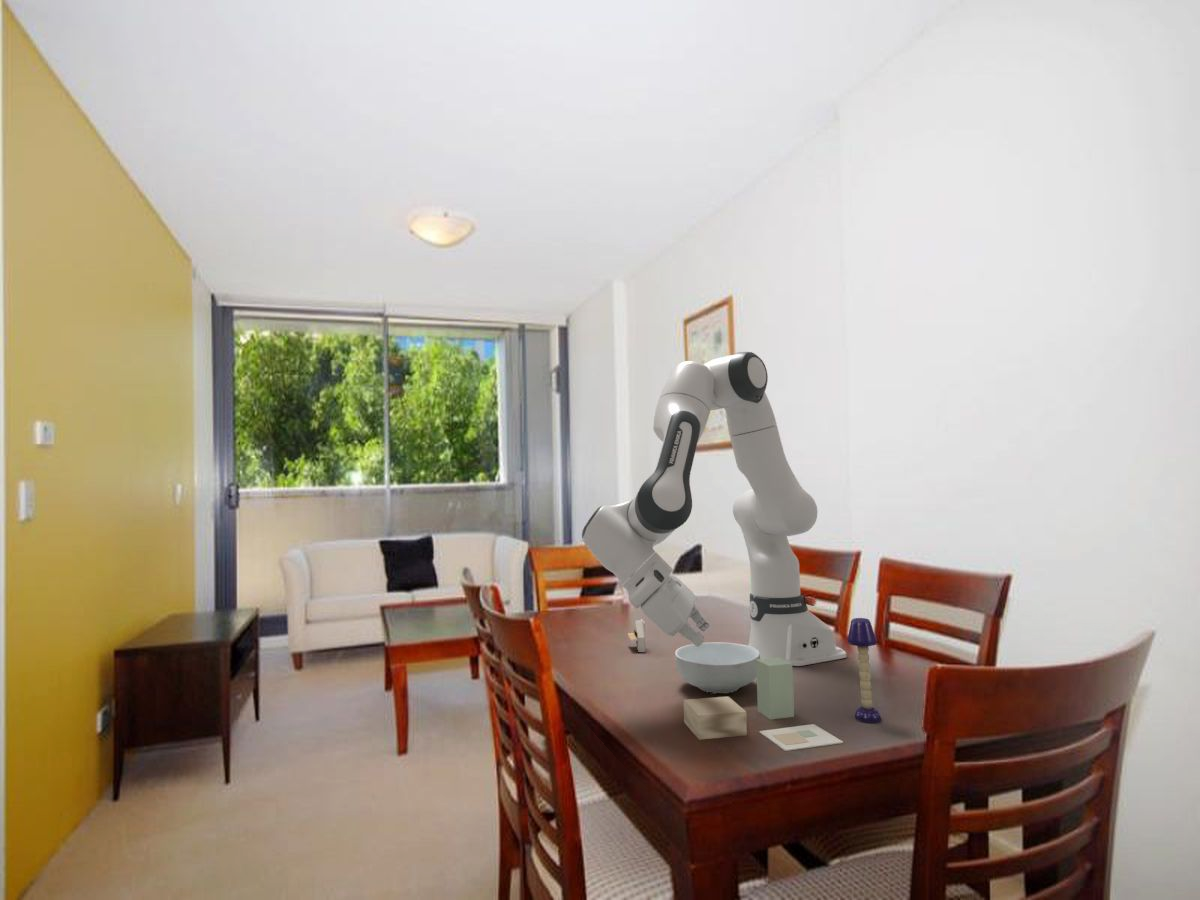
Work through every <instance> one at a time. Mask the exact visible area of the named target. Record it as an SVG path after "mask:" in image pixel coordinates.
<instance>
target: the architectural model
mask: <svg viewBox="0 0 1200 900" xmlns="http://www.w3.org/2000/svg"><path fill="white" fill-rule="evenodd" d="M633 629H634V632H628V633H627V637H628V638H629V639H630V640H631V641H630V642H633V641H635V643H636V650H638V651H637V653H638V652H645V653H646V649H647V648H646V646H647V645H646V622H645V621H644V620H643V619H642V618H640V619H639V620H635V628H633Z"/></svg>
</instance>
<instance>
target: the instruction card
mask: <svg viewBox="0 0 1200 900" xmlns="http://www.w3.org/2000/svg"><path fill="white" fill-rule="evenodd" d="M758 733H759V734H760V735H762V736H763V737H764V738H766V739H768V740H769V741H770V742H772V743H774V744H775V745H776V746H777V747H779V748H780V749H782V750H783V751H785V752H788V751H796V750H803V749H809V748H818V747H819V748H820V747H824V746H833V745H839V744H844V741H842V740H841V739H839V738H838V737H836V736H834V735H833V734H831V733H829V732H828V731H826V730H824V729H823V728H821V727H819V726H818V725H816V724H814V723H812V724H805V725H804V724H803V725H797V726H790V727H781V728H774V729H772V728H771V729H766V730H760V731H758Z"/></svg>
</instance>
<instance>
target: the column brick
mask: <svg viewBox="0 0 1200 900" xmlns="http://www.w3.org/2000/svg"><path fill="white" fill-rule="evenodd" d="M756 669H757V676H756V693H757V694H756V696H757V697H756V699H757V712H758V711H759V712H758V713H760V712H761V713H762V715H763V716H765V717H766V718H767V719H769V720H779V719H786V718H787V719H788V718H794V717H795V705H794V704H795V703H794V702H795V700H794V697H795V696H794V676H793V675H794V674H793V672H794V671H793V665H792V663H790V662H788V661H786V660H784V659H781V658H779V657H777V658H767V659H757V660H756ZM761 713H760V714H761Z"/></svg>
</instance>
